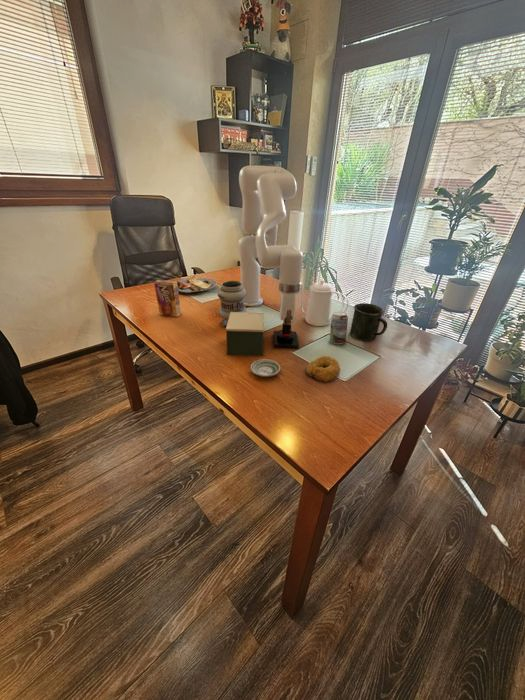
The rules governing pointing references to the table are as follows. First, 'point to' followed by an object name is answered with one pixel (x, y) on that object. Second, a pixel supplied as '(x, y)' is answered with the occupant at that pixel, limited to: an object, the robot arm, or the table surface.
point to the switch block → (285, 340)
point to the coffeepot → (319, 303)
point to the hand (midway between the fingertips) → (286, 333)
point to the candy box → (167, 298)
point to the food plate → (195, 284)
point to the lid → (245, 322)
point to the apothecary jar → (231, 299)
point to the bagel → (324, 368)
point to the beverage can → (338, 327)
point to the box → (244, 343)
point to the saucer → (265, 368)
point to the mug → (367, 322)
